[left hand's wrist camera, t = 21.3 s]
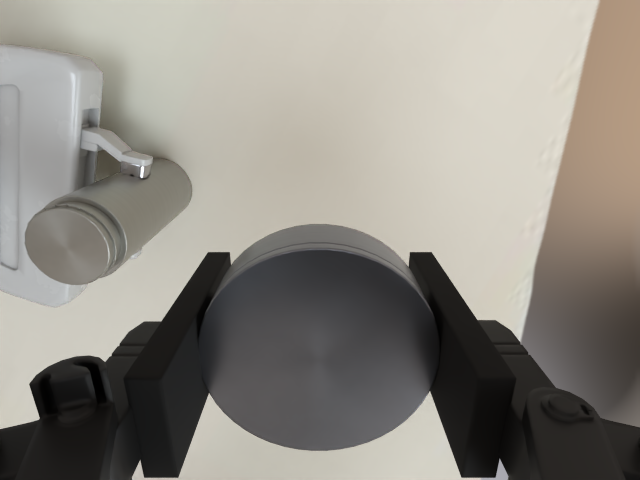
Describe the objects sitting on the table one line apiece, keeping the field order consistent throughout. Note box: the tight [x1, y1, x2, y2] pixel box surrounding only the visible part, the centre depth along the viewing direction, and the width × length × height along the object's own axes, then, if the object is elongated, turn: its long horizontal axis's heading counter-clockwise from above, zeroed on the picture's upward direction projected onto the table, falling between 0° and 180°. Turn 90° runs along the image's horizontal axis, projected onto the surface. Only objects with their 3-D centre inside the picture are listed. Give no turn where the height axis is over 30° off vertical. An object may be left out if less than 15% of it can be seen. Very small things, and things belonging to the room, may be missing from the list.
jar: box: [24, 159, 192, 285], centre depth 31 cm, size 6×6×16 cm
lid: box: [198, 224, 440, 451], centre depth 11 cm, size 6×6×2 cm
